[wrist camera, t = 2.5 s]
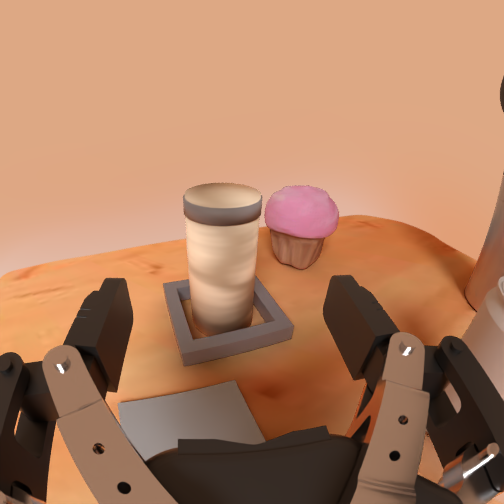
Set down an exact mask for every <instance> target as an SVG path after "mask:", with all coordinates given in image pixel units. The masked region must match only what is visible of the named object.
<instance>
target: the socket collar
mask: <svg viewBox="0 0 504 504" xmlns="http://www.w3.org/2000/svg"><path fill="white" fill-rule="evenodd" d="M163 287H164V294H165V299H166V303H167V307H168V311H169V315H170V319H171V323H172V326H173V330H174V334H175V337H176V341H177V344H178V348H179V351H180V355H181V358H182V361H183V365H184V366H188V365H193V364H198V363H202V362H207V361H211V360H215V359H219V358H224V357H228V356H232V355H236V354H239V353H243V352H247V351H251V350H254V349H258V348H262V347H265V346H269V345H272V344H276V343H279V342H282V341H286V340H289V339H291V337H292V333H293V328H294V325H293V324H292V323H291V322H290V320H289V319H288V318H287V316H286V315H285V314H284V312H283V311H282V310H281V308H280V307H279V306H278V304H277V303H276V302H275V300H274V299H273V298H272V296H271V295H270V294H269V293H268V291H267V290H266V289H265V287H264V286H263V285H262V283H261V282H260V281H259V279H258V278H257V277H256V275H255V284H254V297H253V304H254V305H255V307H256V308H257V310H258V311H259V313H260V314H261V316H262V317H263V319H264V320H265V322H266V323H264V324H260V325H256V326H252V327H248V328H244V329H240V330H236V331H231V332H227V333H223V334H218V335H214V336H209V337H204V338H200V339H195V340H193V338H192V335H191V332H190V330H189V327H188V324H187V321H186V317H185V314H184V311H183V308H182V305H181V302H180V301H181V300H187V299H191V295H190V284H189V279H188V280H182V281H176V282H169V283H163Z"/></svg>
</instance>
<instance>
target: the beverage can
mask: <svg viewBox="0 0 504 504" xmlns="http://www.w3.org/2000/svg"><path fill="white" fill-rule="evenodd" d="M461 340H462V341H463V342H464V343H465V344H466V345H467V346H468V348H469V349H470V351H471V352H472V353H473V355H474V356H475V358H476V359H477V360H478V362H479V363H480V365H481V366H482V368H483V369H484V371H485V372H486V374H487V375H488V377H489V378H490V380H491V381H492V383H493V384H494V386H495V388H496V389H497V391H498V392H499V394H500V396H501V397H502V399H503V401H504V276H503V277H501V278H500V279H499V281H498V283H497V286H496V287H494V288H493V289H491V290H490V291H488V292H487V294H486V296H485V298H484V300H483V302H482V304H481V306H480V308H479V309H478V311H477V313H476V315H475V317H474V318H473V320H472V322H471V324H470V325H469V327H468V329H467V330H466V332H465V334H464V335H463V337H462V339H461ZM445 392H446V394H447V395H448V397H449V399H450V401H451V403H452V405H453V406H454V408H455V410H456V412H457V413H458V412H459V411H460V408H461V401H460V398H459V397H458V395H457V393H456V391H455V390H454V388H453V386H452V385H451V383H450V384H449V385H448V386H447V388H446V389H445ZM426 432H427V433H428V431H427V429H426Z"/></svg>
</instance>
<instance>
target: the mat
mask: <svg viewBox="0 0 504 504" xmlns="http://www.w3.org/2000/svg"><path fill="white" fill-rule="evenodd" d="M118 409H119V416H120V423H121V427H122V429H123V430H124V432H125V433H126V435H127V436H128V438H129V439H130V440H131V442H132V443H133V445H134V446H135V447H136V449H137V450H138V451H139V453H140V454H141V455H142V457H143V458H144V459H145V461H146V460H148V459H149V458H151V457H152V456H154V455H156V454H158V453H160V452H163V451H166V450H169V449H172V448H177V447H178V439H219V440H225V441H231V442H238V443H245V444H253V445H255V444H260V443H263V442H266V440H265V438H264V437H263V435H262V433H261V431H260V429H259V427H258V425H257V423H256V421H255V419H254V417H253V415H252V414H251V412H250V410H249V408H248V406H247V404H246V402H245V400H244V398H243V396H242V393H241V391H240V389H239V387H238V385H237V383H236V381H235V380H232V381H228V382H225V383H221V384H217V385H213V386H209V387H204V388H200V389H196V390H191V391H186V392H182V393H177V394H172V395H166V396H161V397H155V398H149V399H143V400H137V401H130V402H122V403H118Z"/></svg>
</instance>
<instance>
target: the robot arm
mask: <svg viewBox="0 0 504 504" xmlns="http://www.w3.org/2000/svg"><path fill="white" fill-rule="evenodd" d="M500 101H501V106H502V109H503V112H504V77H503V80H502V83H501V88H500ZM503 175H504V173H503ZM503 276H504V176H503V178H502V183H501V187H500V192H499V196H498V200H497V204H496V207H495V211H494V215H493V218H492V221H491V224H490V227H489V231H488V233H487V236H486V239H485V242H484V245H483V248H482V250H481V253H480V256H479V258H478V261H477V263H476V265H475V268H474V270H473V273H472V275H471V277H470V280H469V282H468V284H467V286H466V288H465V296H466V298H467V300H468V302H469V303H470V304H471V306H472V307H473V308H474V309H475V310H476V311H478V309H479V308H480V306H481V304H482V302H483V300H484V298H485V296H486V294H487V292H488V291H490V290H491V289H493V288H494V287H496V286H497V283H498V281H499V279H500V278H501V277H503ZM323 316H324V320H325V322H326V324H327V326H328V328H329V330H330V332H331V334H332V336H333V339H334V341H335V343H336V345H337V347H338V349H339V351H340V353H341V355H342V357H343V359H344V361H345V363H346V365H347V368H348V370H349V372H350V374H351V376H352V378H353V380H359V379H363V378H365V380H366V384H365V386H364V388H363V391H362V394H361V398H360V401H359V404H358V407H357V409H356V412H355V415H354V418H353V421H352V423H351V426H350V428H349V429H348V431H347V433H346V435H345V436H342V435H336V434H329V433H328V430H327V427H326V426H321V427H316V428H311V429H305V430H299V431H293V432H290V433H288V434H285V435H282V436H280V437H277V438H274V439H272V440H269V441H266V442H263V443H260V444H255V445H253V444H245V443H238V442H231V441H225V440H219V439H178V447H177V448H172V449H169V450H166V451H163V452H160V453H158V454H156V455H154V456H152V457H151V458H149V459H148V460H146V461H145V459H144V458H143V457H142V455H141V454H140V453H139V451H138V450H137V449H136V447H135V446H134V445H133V443H132V442H131V440H130V439H129V438H128V436H127V435H126V433H125V432H124V430H123V429H122V427H121V425H120V424H119V422H118V421H117V419H116V418H115V416H114V414H113V413H112V411H111V409H110V408H109V406H108V404H107V403H106V401H105V397H106V393H107V391H108V392H117V390H118V385H119V380H120V375H121V371H122V366H123V362H124V358H125V353H126V349H127V345H128V341H129V337H130V333H131V330H132V326H133V310H132V306H131V301H130V297H129V292H128V288H127V283H126V280H125V279H124V278H106V279H105V280H104V282H103V284H102V286H101V288H100V290H99V291H93V292H92V293H91V294H90V295H88V296H87V297H86V298H85V300H84V302H83V304H82V305H81V307H80V310H79V311H78V313H77V317H76V318H75V320H74V322H73V324H72V326H71V328H70V330H69V332H68V335H67V337H66V339H65V341H64V344H63V345H61V346H57V347H55V348H53V349H51V350H50V351H49V352H48V353H47V354H46V355H45V357H44V359H43V361H39V362H31V363H24V362H23V360H22V359H21V357H20V356H19V355H18V354H16V353H14V352H8V353H5V354H3V355H1V356H0V504H46V496H47V482H48V471H49V463H50V455H51V448H52V442H53V436H54V430H55V425H56V421H57V425H58V428H59V430H60V432H61V435H62V437H63V439H64V441H65V444H66V446H67V448H68V450H69V452H70V454H71V456H72V458H73V460H74V462H75V464H76V466H77V468H78V469H79V471H80V473H81V475H82V477H83V478H84V480H85V482H86V484H87V485H88V487H89V489H90V490H91V492H92V494H93V495H94V497H95V498H96V500H97V501H98V503H99V504H486V503H487V502H489V501H490V500H491V499H492V498H494V497H496V496H498V495H499V494H501V493H503V492H504V401H503V399H502V397H501V396H500V394H499V392H498V391H497V389H496V388H495V386H494V384H493V383H492V381H491V380H490V378H489V377H488V375H487V374H486V372H485V371H484V369H483V368H482V366H481V365H480V363H479V362H478V360H477V359H476V358H475V356H474V355H473V353H472V352H471V351H470V349H469V348H468V346H467V345H466V344H465V343H464V342H463V341H462V340H461V339H459V338H457V337H454V336H446V337H444V338H443V339H442V341H441V342H440V344H439V346H424V345H423V343H422V342H421V341H420V340H419V339H418V338H417V337H416V336H414V335H412V334H410V333H406V332H400V331H399V330H398V328H397V327H396V325H395V324H394V323H393V321H392V320H391V318H390V317H389V316H388V314H387V313H386V312H385V310H383V308H382V306H381V305H380V304H379V303H378V301H377V300H376V298H375V297H374V296H373V294H372V293H371V292H369V291H368V290H367V289H365V288H364V287H362V286H359V285H358V283H357V282H356V281H355V279H354V278H353V277H352V276H351V275H338V276H332V278H331V280H330V283H329V287H328V291H327V295H326V299H325V302H324V306H323ZM450 383H451V385H452V386H453V388H454V390H455V391H456V393H457V395H458V397H459V398H460V401H461V408H460V411H459V412H458V413H457V412H456V410H455V408H454V406H453V405H452V403H451V401H450V399H449V397H448V395H447V394H446V392H445V389H446V388H447V386H448V385H449V384H450ZM19 410H20V411H21V414H20V418H19V422H18V426H17V430H16V434H15V435H14V429H15V425H16V421H17V417H18V413H19ZM426 429H427V431H428V434H429V436H430V438H431V440H432V443H433V445H434V447H435V450H436V452H437V454H438V457H439V459H440V462H441V464H442V467H443V469H444V471H443V477H441V478H440V480H439V483H438V484H436V483H434V482H432V481H430V480H428V479H426V478H424V477H422V476H420V475H418V474H417V473H418V469H419V464H420V459H421V455H422V449H423V444H424V438H425V432H426Z"/></svg>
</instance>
